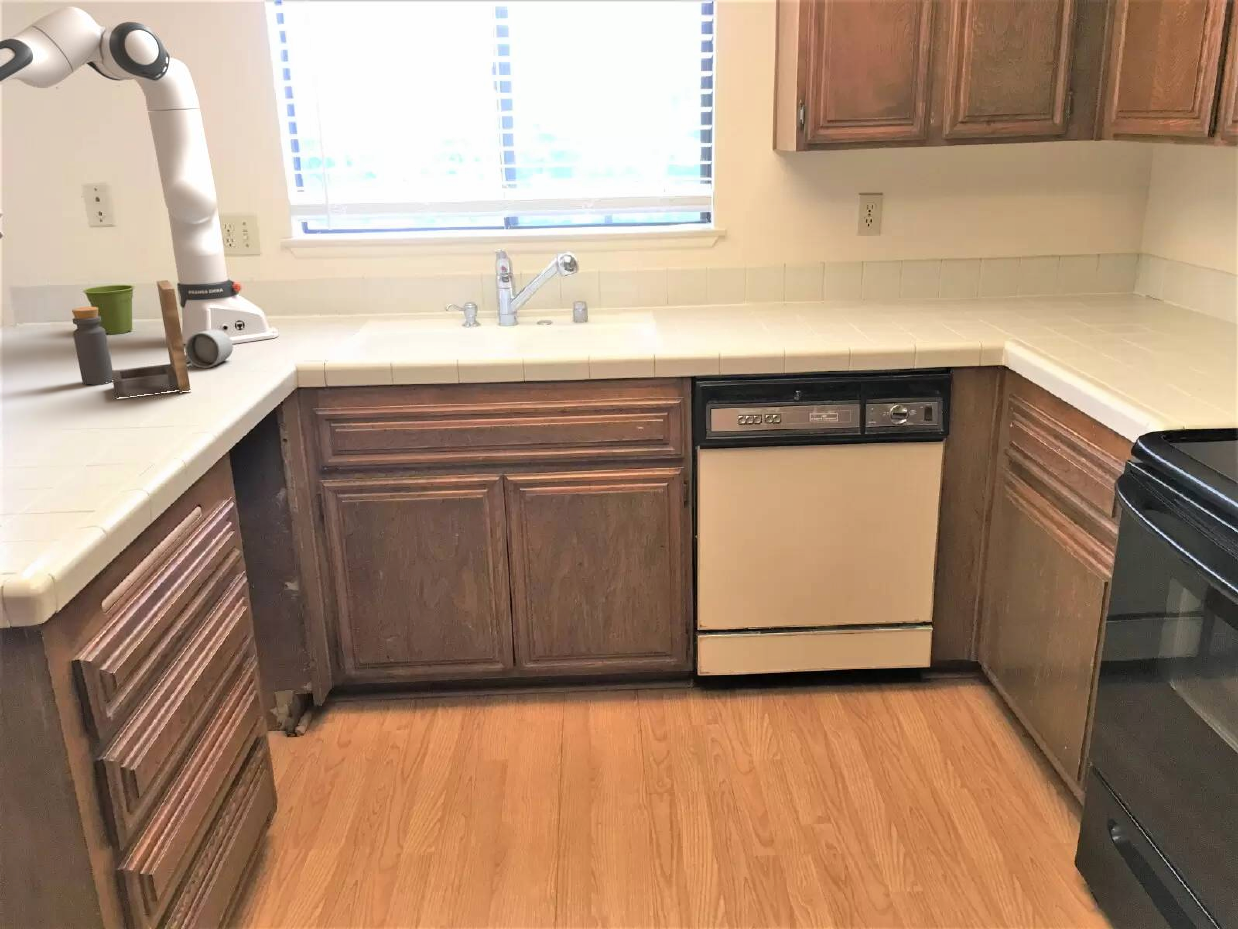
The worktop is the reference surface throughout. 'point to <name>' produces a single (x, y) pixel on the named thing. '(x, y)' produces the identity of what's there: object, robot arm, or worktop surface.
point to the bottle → (91, 346)
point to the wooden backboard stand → (160, 375)
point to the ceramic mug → (208, 348)
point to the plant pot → (113, 306)
